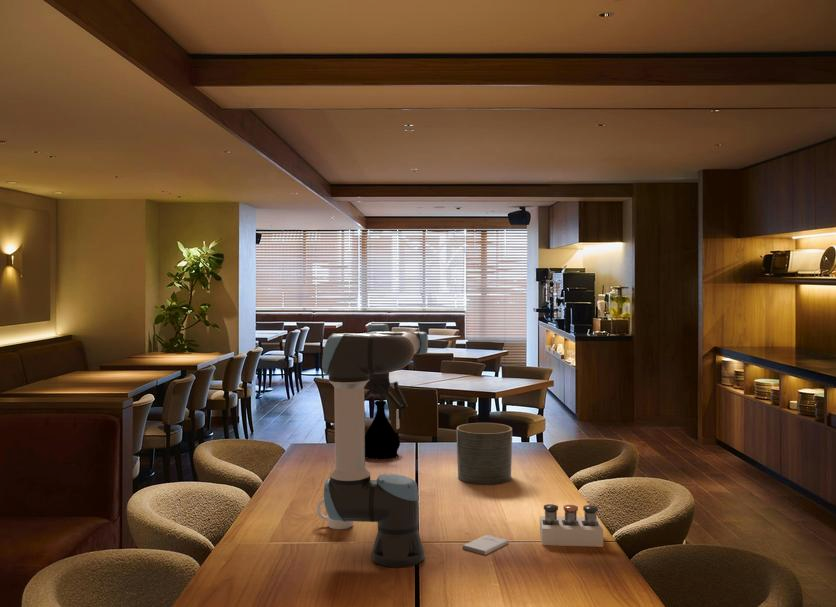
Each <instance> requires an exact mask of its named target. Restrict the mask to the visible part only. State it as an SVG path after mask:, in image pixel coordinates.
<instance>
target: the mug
mask: <svg viewBox="0 0 836 607" xmlns="http://www.w3.org/2000/svg"><path fill="white" fill-rule="evenodd" d="M323 504H325V503H324V498H322V499H320V500H319V501H318V503H317V505H316V513H317V516H318V517H319V519H321V520H323V521H327V525H328V527H329V528H330V529H332V530H346V529H350V528H351V527H352V526H353V525H354V521H347V522H344V521H338V520H332V519H331V518H330V517H329V516H328V515H325V514H323V513H322V511H321V510H322V508H321V507H322V506H323Z"/></svg>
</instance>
